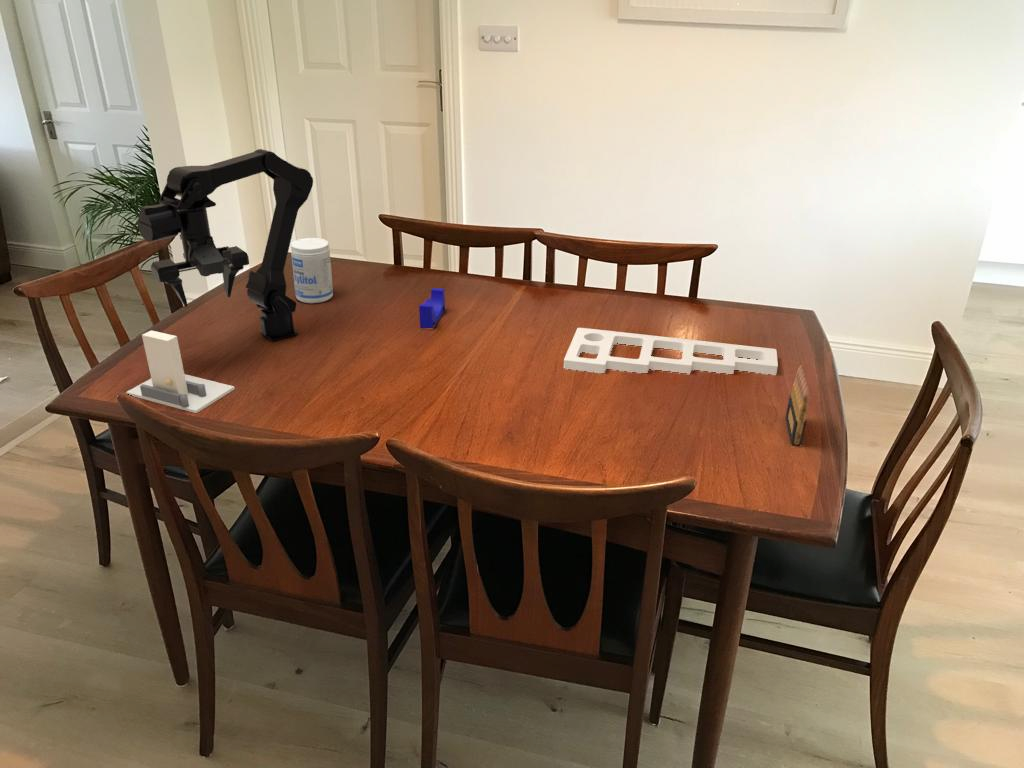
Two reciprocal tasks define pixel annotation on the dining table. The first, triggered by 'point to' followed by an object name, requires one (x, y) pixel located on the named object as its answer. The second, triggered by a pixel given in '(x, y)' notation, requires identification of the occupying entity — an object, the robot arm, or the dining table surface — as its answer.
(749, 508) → the dining table surface
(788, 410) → the tan blue flat packet
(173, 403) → the slotted base plate
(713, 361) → the holder
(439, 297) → the blue u-shaped block
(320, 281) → the supplement tub
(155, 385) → the door panel
